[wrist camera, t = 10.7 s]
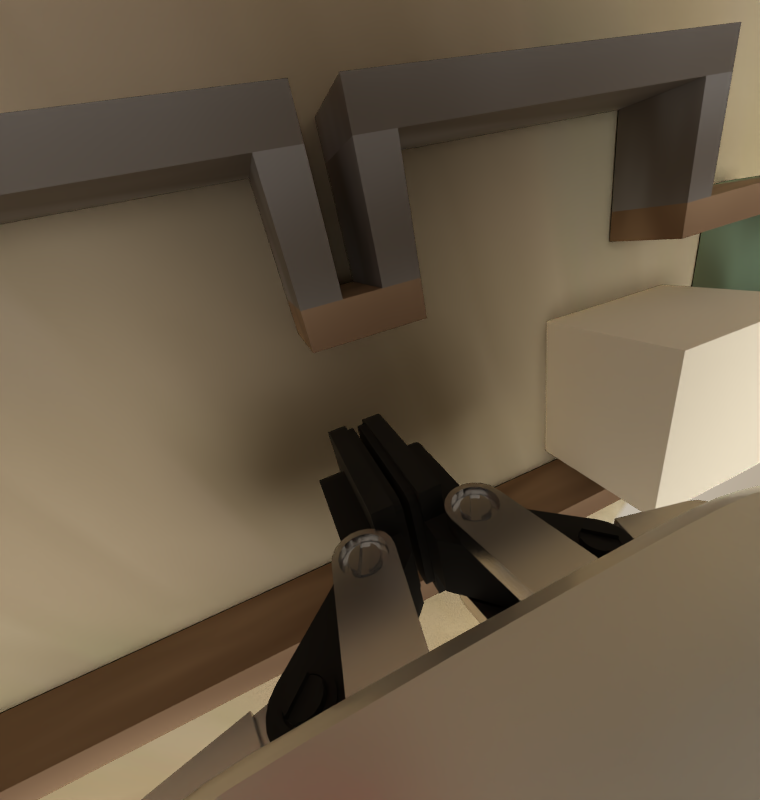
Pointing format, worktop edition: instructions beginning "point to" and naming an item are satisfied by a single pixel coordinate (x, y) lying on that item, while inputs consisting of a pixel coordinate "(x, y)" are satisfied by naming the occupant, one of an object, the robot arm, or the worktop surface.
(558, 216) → the worktop surface
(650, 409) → the block
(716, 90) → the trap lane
